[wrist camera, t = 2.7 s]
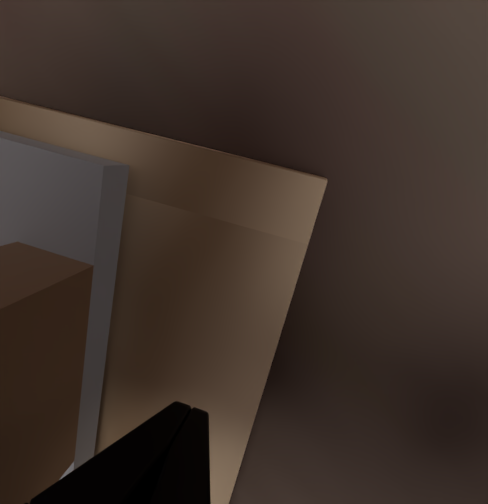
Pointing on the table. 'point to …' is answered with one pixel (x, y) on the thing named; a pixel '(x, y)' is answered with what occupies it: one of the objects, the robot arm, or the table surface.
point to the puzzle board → (191, 277)
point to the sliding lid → (53, 307)
